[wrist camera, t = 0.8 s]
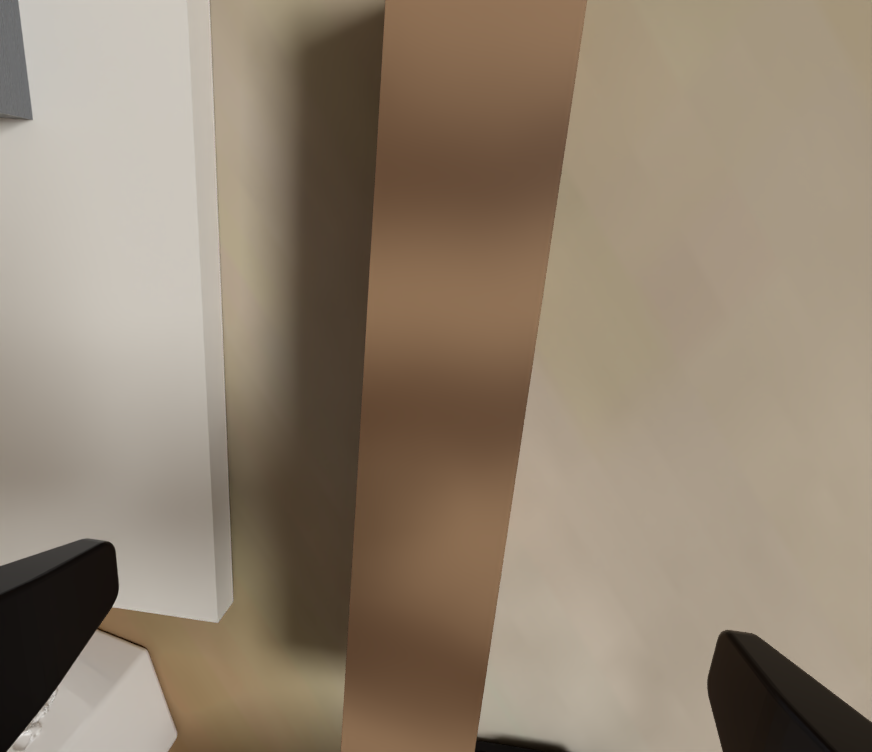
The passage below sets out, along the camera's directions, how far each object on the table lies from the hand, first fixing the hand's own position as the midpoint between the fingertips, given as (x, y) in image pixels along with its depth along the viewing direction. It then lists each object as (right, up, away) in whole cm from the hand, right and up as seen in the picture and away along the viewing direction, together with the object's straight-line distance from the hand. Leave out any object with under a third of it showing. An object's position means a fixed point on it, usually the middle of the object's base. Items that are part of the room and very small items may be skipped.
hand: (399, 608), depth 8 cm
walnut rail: (+1, +3, +10) cm, 11 cm away
